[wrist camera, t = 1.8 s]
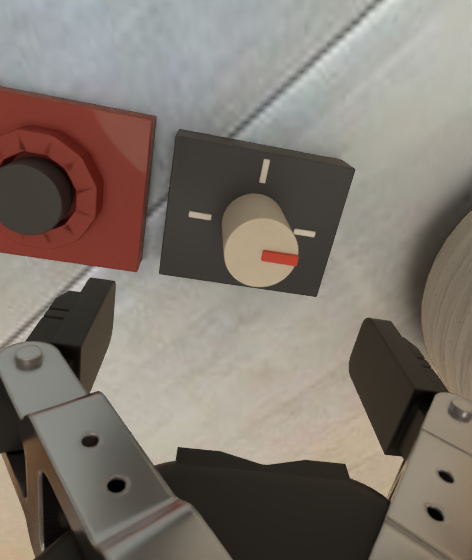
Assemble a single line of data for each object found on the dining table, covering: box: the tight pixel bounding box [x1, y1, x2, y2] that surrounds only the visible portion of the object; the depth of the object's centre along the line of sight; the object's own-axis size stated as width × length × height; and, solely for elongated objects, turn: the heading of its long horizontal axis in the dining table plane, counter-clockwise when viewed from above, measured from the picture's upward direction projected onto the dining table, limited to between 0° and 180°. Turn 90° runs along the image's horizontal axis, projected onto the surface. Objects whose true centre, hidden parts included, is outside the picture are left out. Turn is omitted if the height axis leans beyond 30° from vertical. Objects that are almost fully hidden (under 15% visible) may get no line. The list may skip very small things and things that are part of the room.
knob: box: [222, 194, 299, 287], centre depth 25 cm, size 4×4×5 cm
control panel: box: [159, 129, 355, 297], centre depth 29 cm, size 11×9×3 cm
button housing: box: [0, 86, 156, 272], centre depth 27 cm, size 12×10×4 cm
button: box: [0, 157, 72, 235], centre depth 24 cm, size 4×4×2 cm
